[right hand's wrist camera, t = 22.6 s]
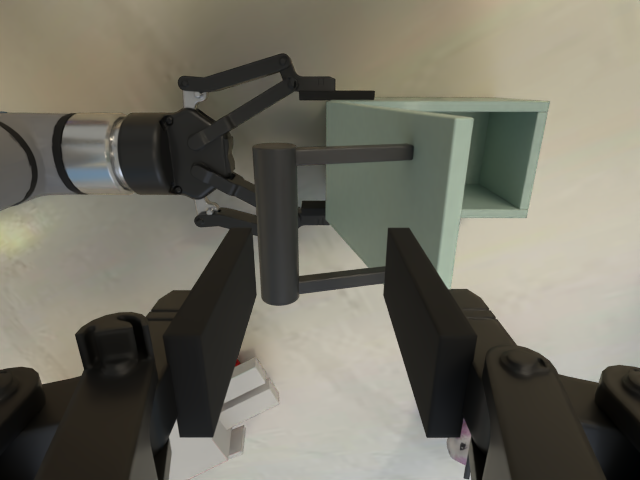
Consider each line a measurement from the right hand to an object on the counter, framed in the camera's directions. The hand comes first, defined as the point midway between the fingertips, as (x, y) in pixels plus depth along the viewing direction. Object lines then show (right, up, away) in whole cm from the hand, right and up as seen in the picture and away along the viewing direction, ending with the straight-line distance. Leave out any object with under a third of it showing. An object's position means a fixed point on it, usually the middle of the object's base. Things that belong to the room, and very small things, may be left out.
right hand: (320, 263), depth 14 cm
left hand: (+5, +9, +23) cm, 25 cm away
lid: (+4, +4, +11) cm, 12 cm away
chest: (+10, +11, +29) cm, 33 cm away
